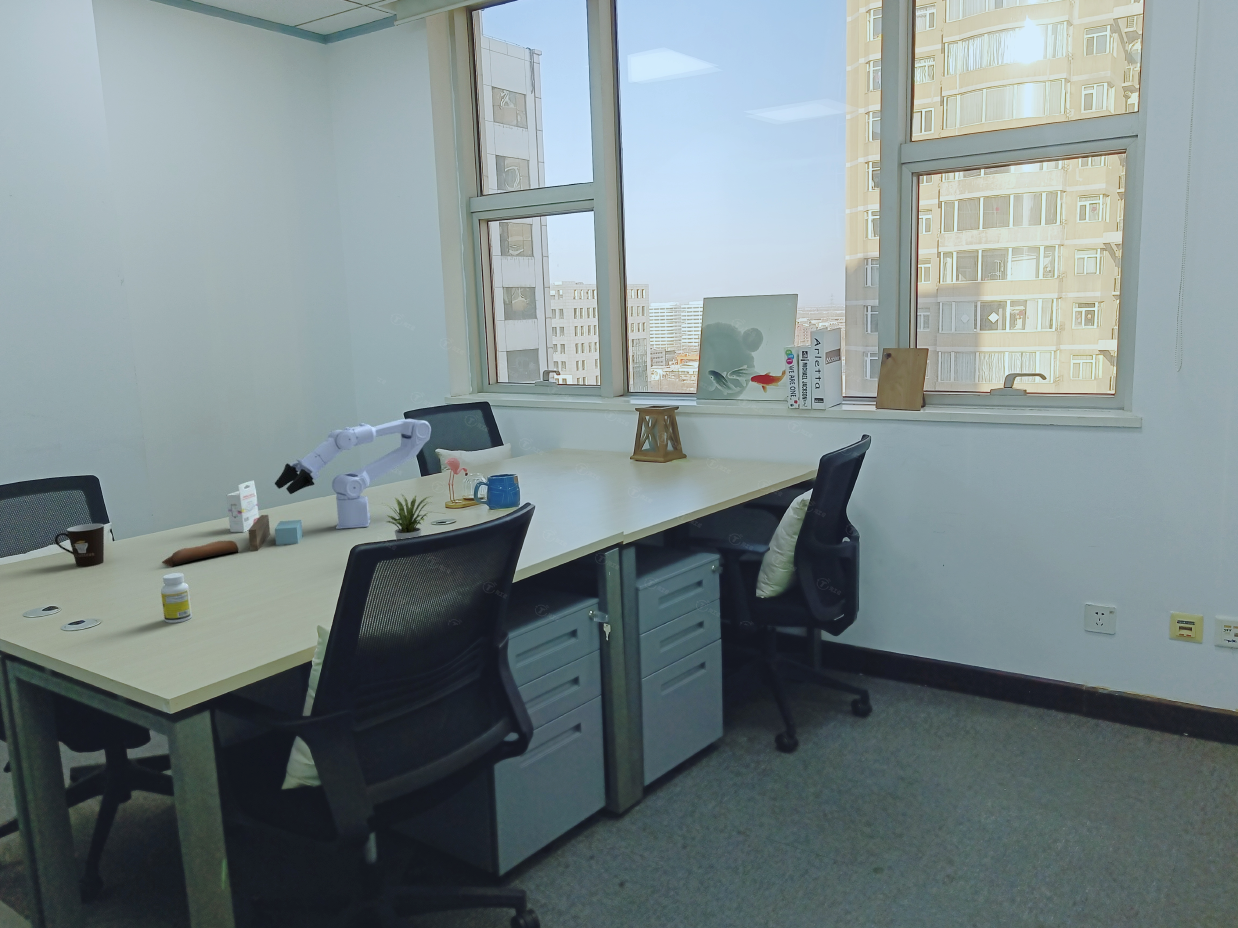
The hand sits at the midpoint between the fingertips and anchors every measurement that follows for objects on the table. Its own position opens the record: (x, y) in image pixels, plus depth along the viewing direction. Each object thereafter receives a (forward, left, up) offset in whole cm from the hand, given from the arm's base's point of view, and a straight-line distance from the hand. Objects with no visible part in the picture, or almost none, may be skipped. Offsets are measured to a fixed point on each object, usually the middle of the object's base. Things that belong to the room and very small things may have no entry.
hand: (282, 488), depth 269 cm
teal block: (-1, +4, -15) cm, 15 cm away
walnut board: (+7, +4, -15) cm, 17 cm away
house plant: (-37, +30, -15) cm, 50 cm away
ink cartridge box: (+15, -16, -15) cm, 26 cm away
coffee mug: (+50, +14, -15) cm, 54 cm away
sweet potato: (+20, +18, -15) cm, 31 cm away
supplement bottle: (+12, +73, -15) cm, 76 cm away
